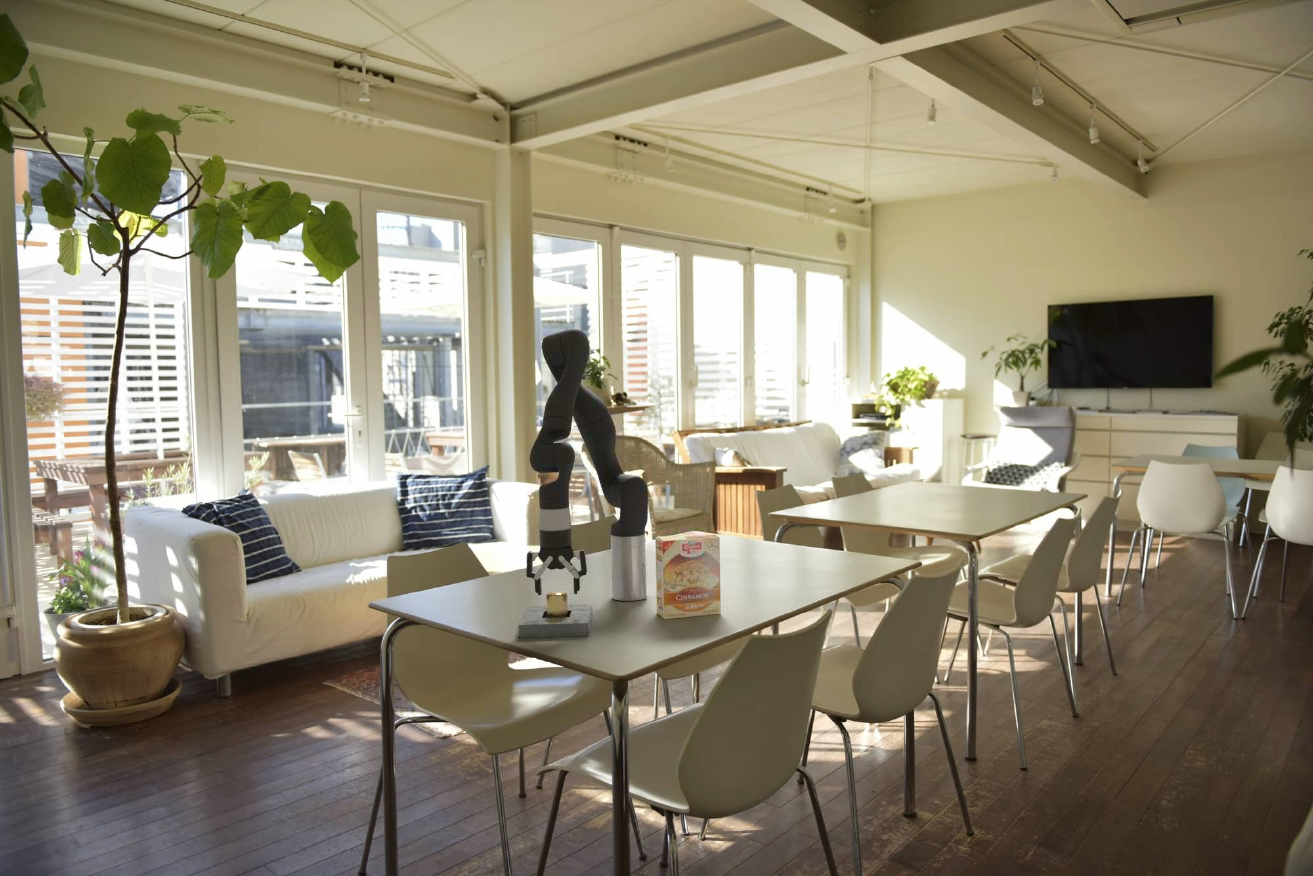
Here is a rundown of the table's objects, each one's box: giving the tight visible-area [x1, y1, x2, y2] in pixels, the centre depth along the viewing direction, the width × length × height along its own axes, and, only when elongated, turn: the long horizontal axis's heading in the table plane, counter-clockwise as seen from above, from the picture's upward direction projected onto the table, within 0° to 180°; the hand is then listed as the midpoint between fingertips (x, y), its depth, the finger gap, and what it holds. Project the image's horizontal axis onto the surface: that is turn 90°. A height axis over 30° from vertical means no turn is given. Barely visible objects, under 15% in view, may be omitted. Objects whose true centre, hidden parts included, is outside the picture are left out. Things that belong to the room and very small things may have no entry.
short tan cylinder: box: [545, 590, 569, 618], centre depth 220 cm, size 5×5×8 cm
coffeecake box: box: [654, 532, 722, 620], centre depth 230 cm, size 15×7×20 cm, turn 106°
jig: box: [517, 603, 594, 639], centre depth 220 cm, size 16×18×3 cm
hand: (557, 594), depth 220 cm, fingers open, 8 cm apart
